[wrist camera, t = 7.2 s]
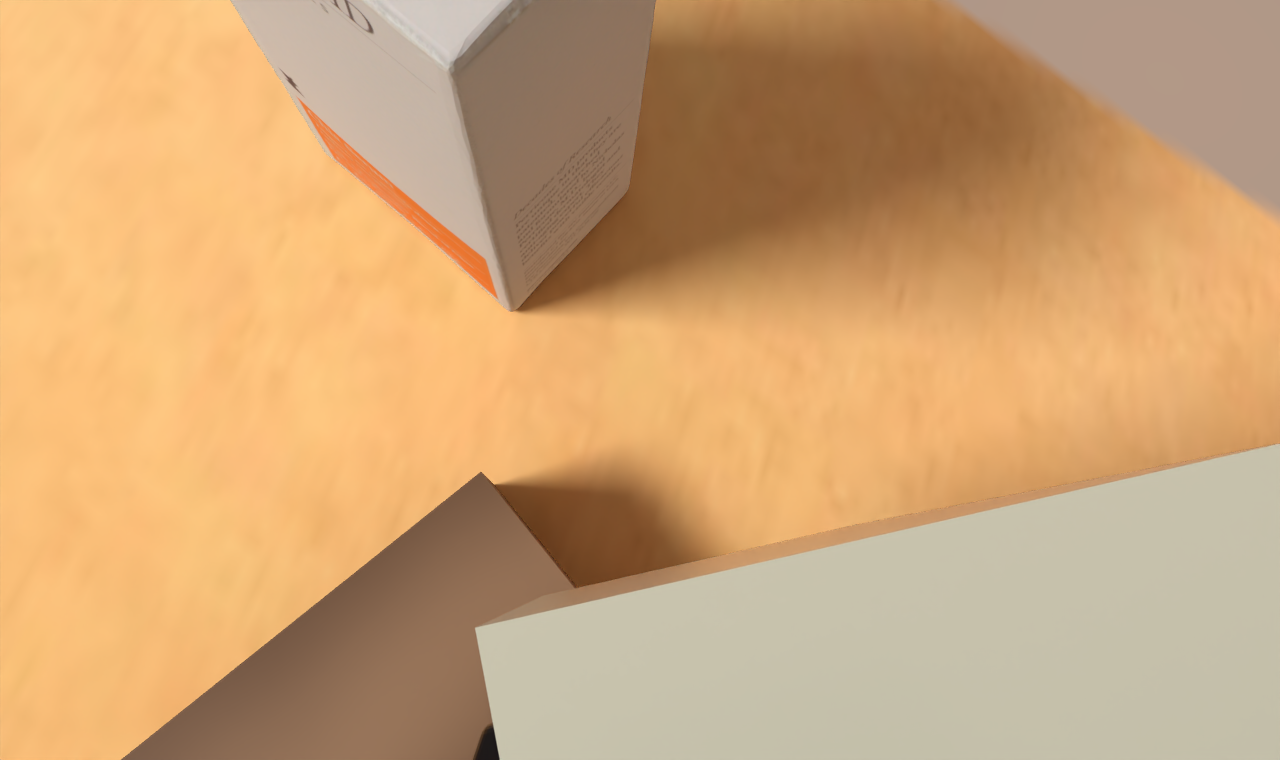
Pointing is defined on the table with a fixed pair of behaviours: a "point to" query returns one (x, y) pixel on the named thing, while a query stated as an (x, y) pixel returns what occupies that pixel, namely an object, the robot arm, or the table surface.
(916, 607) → the pale grey tall block
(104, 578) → the table surface
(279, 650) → the walnut block
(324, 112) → the skincare box
